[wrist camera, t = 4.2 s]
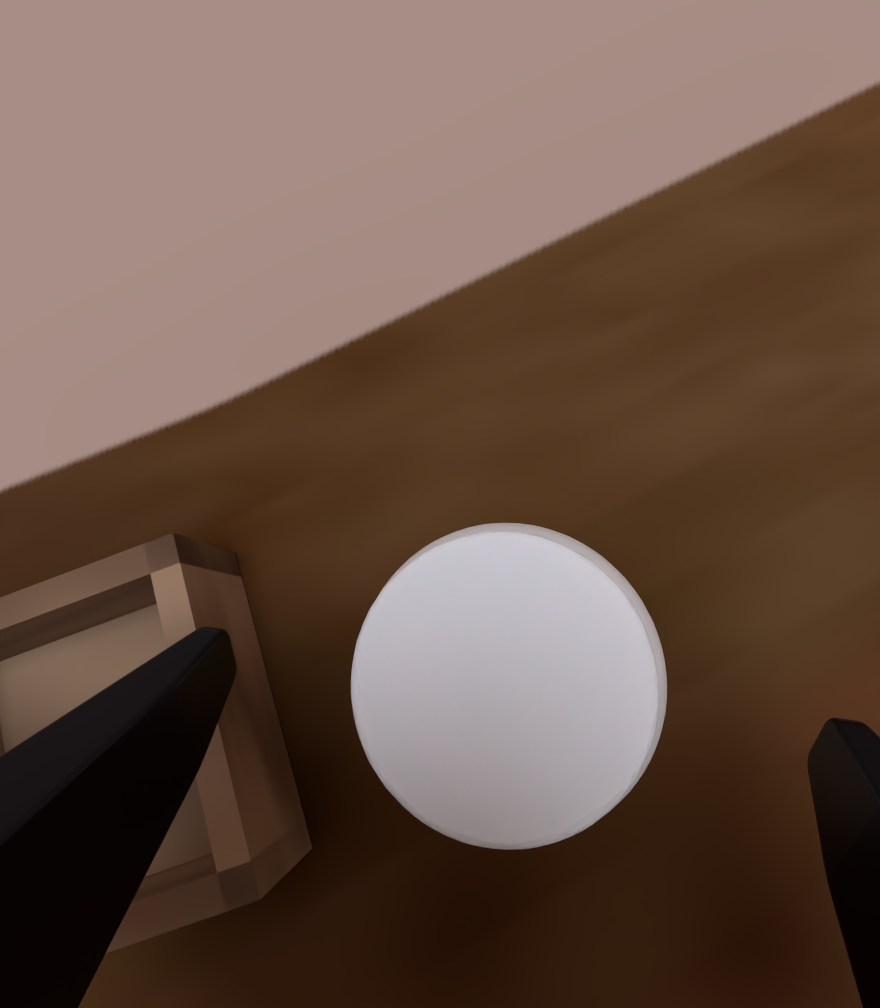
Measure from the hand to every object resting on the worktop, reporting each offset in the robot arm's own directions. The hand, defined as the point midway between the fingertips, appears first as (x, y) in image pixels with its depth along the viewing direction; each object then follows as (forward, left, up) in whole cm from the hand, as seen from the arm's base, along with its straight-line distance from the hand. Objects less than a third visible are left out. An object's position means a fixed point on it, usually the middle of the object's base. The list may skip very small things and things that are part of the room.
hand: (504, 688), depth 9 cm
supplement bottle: (0, 0, -8) cm, 8 cm away
